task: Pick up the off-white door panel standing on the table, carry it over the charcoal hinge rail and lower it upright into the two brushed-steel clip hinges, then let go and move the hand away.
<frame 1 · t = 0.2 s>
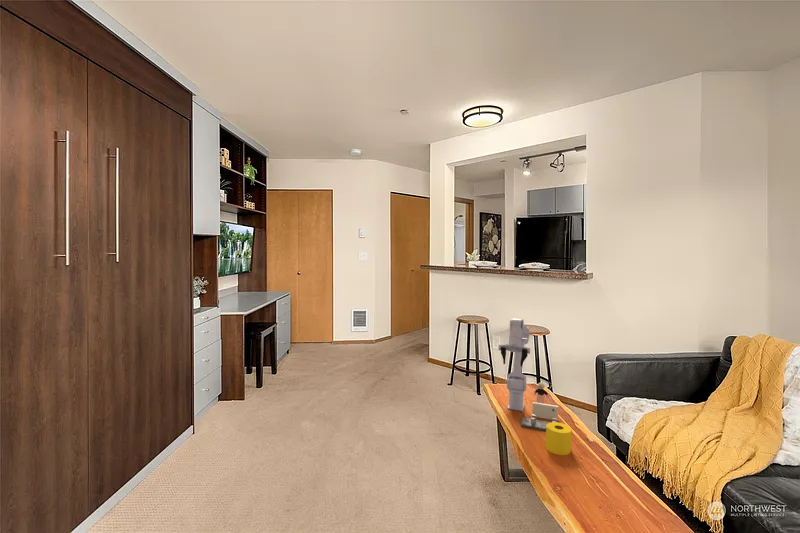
hand: (512, 364, 186), 31 cm above the table, tool tilted 45°, fingers open, 7 cm apart
tape roll: (558, 449, 171), on the table
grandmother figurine: (540, 406, 216), on the table
cabinet door: (544, 418, 201), on the table
hinge rail: (543, 426, 191), on the table
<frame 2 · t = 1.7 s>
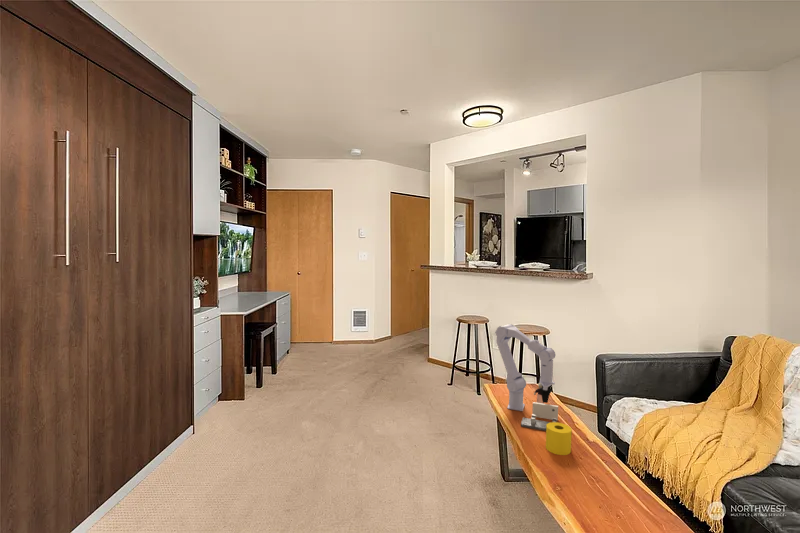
hand: (545, 399, 201), 9 cm above the table, tool pointing down, fingers open, 7 cm apart
nothing on the table moved.
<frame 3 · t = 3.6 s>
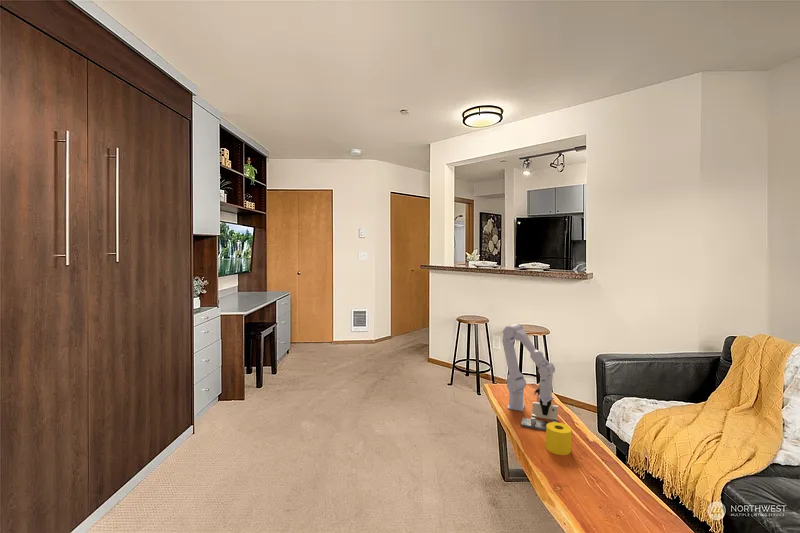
hand: (545, 414, 201), 2 cm above the table, tool pointing down, fingers closed on cabinet door, 1 cm apart
cabinet door: (544, 417, 201), on the table, touching gripper
everything else where it was.
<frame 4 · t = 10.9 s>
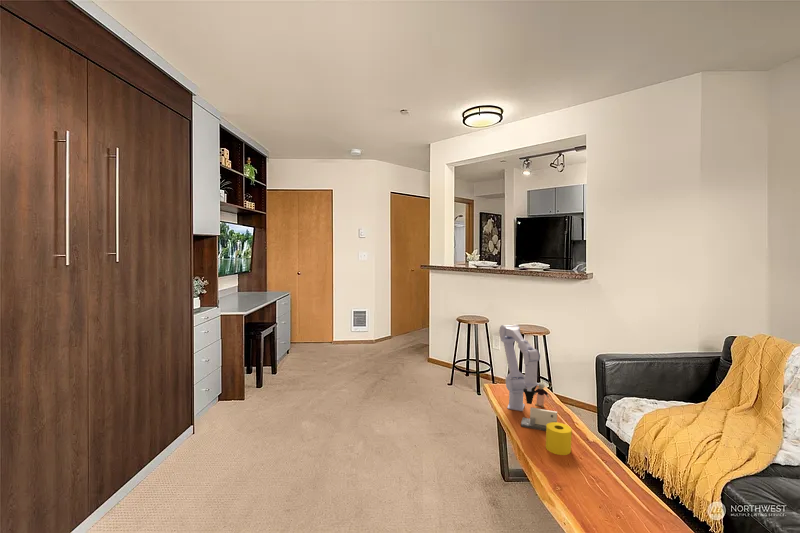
hand: (530, 400, 199), 9 cm above the table, tool pointing down, fingers open, 7 cm apart
cabinet door: (543, 424, 191), point 1 cm above the table, touching hinge rail
everything else where it was.
at the end: cabinet door 0.2 cm off-centre on the hinge rail, point 1.2 cm above the hinge rail's base; cabinet door tilted 0°; the gripper is holding nothing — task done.
